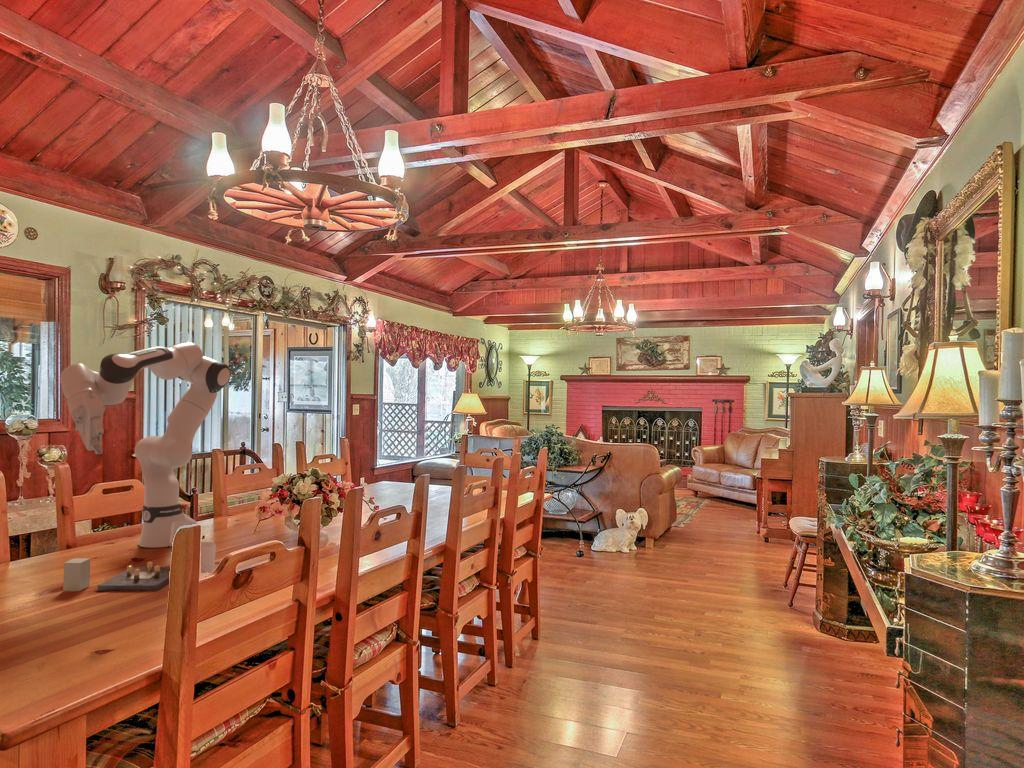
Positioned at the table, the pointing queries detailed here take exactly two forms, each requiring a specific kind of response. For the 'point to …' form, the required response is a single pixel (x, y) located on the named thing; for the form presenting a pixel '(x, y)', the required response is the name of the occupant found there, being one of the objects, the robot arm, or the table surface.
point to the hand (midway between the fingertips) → (100, 443)
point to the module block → (76, 574)
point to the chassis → (138, 579)
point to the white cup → (207, 556)
